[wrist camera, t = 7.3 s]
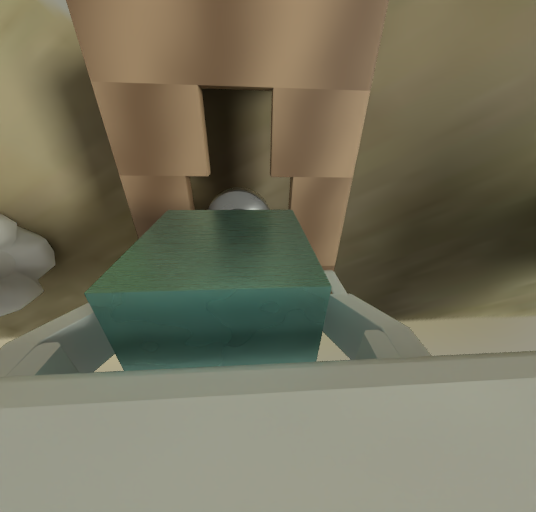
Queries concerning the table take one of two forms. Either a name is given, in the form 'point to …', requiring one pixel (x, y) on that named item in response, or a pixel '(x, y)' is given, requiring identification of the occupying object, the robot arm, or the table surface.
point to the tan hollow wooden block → (233, 77)
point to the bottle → (21, 265)
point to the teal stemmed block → (215, 289)
